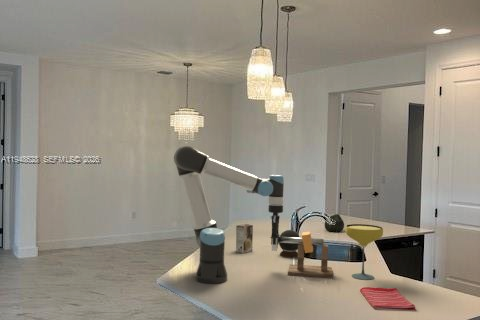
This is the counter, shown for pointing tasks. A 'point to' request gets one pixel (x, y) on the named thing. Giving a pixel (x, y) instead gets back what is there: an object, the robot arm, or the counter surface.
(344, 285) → the counter surface
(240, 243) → the coffee box
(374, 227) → the cocktail glass
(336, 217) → the squash
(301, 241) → the shaft
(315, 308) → the counter surface
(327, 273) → the stand
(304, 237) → the collar
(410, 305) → the dish towel
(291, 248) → the black stacked round piece
